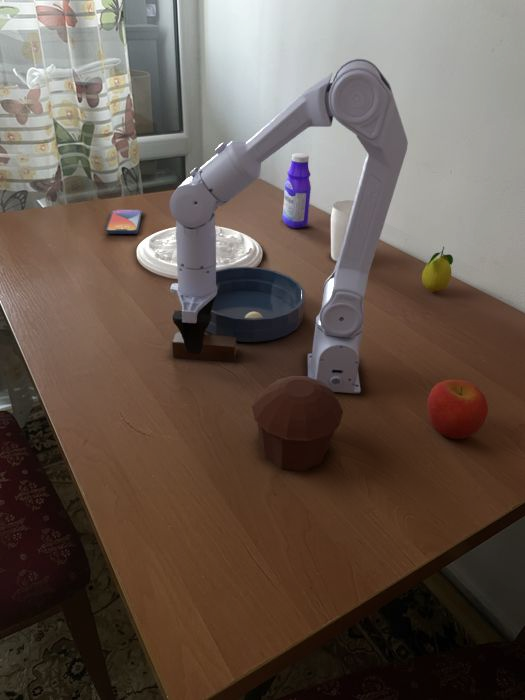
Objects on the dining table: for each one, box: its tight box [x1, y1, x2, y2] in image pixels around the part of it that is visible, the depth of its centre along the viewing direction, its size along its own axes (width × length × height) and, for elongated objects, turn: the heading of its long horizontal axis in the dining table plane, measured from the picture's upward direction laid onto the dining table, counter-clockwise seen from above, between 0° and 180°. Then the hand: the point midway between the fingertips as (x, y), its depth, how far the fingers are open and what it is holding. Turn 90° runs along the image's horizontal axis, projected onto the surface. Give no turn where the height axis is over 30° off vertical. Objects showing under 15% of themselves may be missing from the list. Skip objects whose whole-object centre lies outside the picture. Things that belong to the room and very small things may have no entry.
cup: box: [330, 199, 354, 262], centre depth 122 cm, size 9×9×12 cm
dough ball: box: [245, 312, 263, 318], centre depth 95 cm, size 4×4×4 cm
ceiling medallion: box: [136, 225, 263, 280], centre depth 122 cm, size 28×28×3 cm
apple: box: [427, 379, 489, 440], centre depth 75 cm, size 8×8×8 cm
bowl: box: [205, 266, 306, 343], centre depth 100 cm, size 20×20×5 cm
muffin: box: [251, 375, 344, 472], centre depth 70 cm, size 12×11×10 cm
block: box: [171, 331, 237, 363], centre depth 89 cm, size 3×10×3 cm, turn 87°
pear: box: [421, 246, 454, 293], centre depth 110 cm, size 7×6×10 cm
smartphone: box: [105, 209, 143, 235], centre depth 135 cm, size 7×15×1 cm, turn 6°
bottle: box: [282, 152, 312, 229], centre depth 136 cm, size 7×6×17 cm
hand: (198, 338), depth 88 cm, fingers open, 7 cm apart
